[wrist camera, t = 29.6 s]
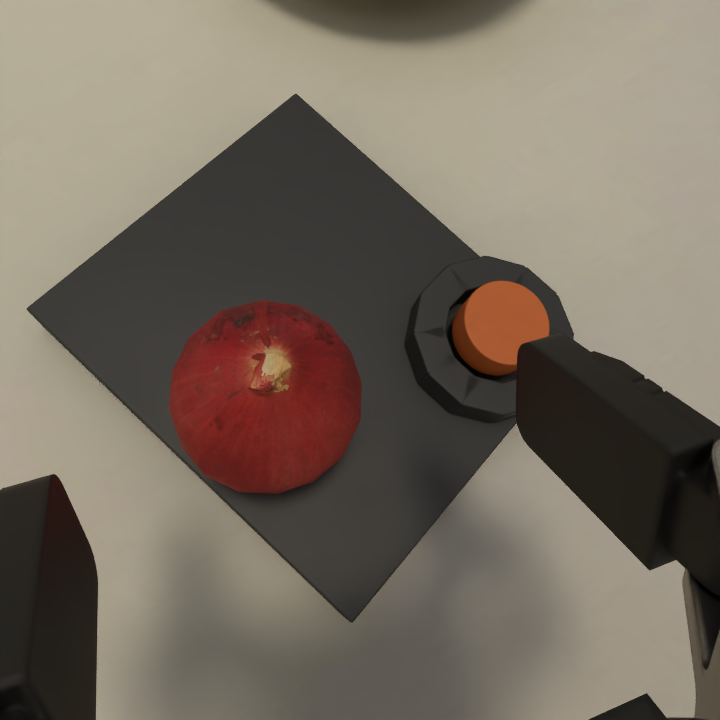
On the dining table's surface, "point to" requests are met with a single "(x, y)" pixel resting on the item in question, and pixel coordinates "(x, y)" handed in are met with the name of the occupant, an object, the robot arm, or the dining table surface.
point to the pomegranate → (265, 397)
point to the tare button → (498, 326)
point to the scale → (325, 300)
